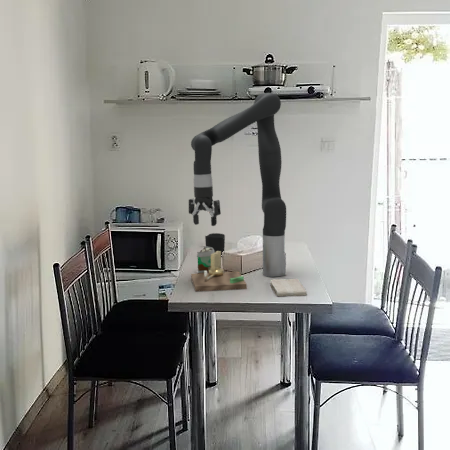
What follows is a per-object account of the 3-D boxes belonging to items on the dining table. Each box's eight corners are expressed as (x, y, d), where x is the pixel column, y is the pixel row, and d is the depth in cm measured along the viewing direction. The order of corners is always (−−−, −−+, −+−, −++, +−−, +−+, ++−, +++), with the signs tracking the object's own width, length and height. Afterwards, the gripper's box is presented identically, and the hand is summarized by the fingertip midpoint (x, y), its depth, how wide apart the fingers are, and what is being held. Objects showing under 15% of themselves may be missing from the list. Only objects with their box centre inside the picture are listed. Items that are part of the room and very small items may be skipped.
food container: (211, 275, 258) (211, 252, 256) (197, 275, 259) (197, 252, 257) (217, 268, 270) (217, 246, 268) (204, 268, 271) (203, 246, 269)
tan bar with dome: (212, 271, 256) (212, 250, 254) (226, 272, 254) (225, 251, 252) (198, 280, 242) (197, 258, 241) (212, 281, 240) (211, 259, 239)
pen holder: (202, 254, 297) (202, 234, 295) (220, 252, 301) (219, 232, 299) (210, 258, 288) (209, 237, 286) (228, 256, 292) (228, 236, 290)
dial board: (238, 276, 257) (238, 267, 256) (246, 288, 238) (246, 280, 237) (191, 278, 254) (191, 270, 253) (195, 291, 235) (195, 282, 235)
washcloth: (297, 284, 246) (297, 276, 246) (308, 297, 229) (308, 289, 228) (268, 285, 245) (268, 277, 245) (276, 298, 228) (276, 290, 227)
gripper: (223, 184, 244) (224, 224, 247) (194, 183, 252) (196, 222, 255) (212, 187, 238) (214, 228, 241) (183, 185, 246) (185, 225, 249)
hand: (205, 225), depth 248 cm, fingers open, 8 cm apart
